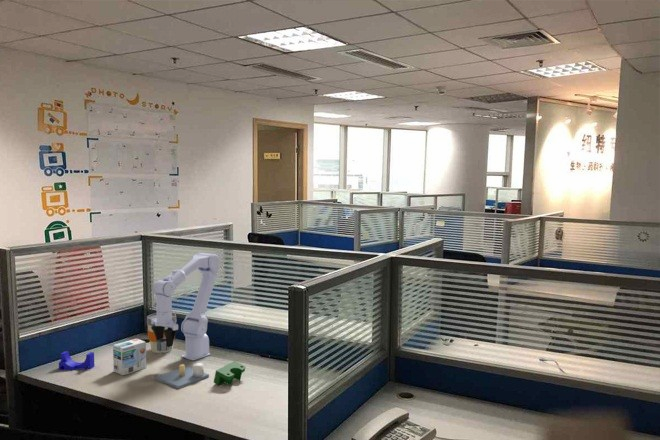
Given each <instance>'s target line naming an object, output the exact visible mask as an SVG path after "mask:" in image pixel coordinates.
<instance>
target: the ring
mask: <svg viewBox="0 0 660 440" xmlns="http://www.w3.org/2000/svg"><path fill="white" fill-rule="evenodd" d="M172 348H173V349H174V345H173V346H170V347H167V344H166V338H161V339H158V340H157V350H158V351H168V350H171V349H172ZM173 349H172V350H173ZM172 350H171V351H172Z"/></svg>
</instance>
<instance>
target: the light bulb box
mask: <svg viewBox="0 0 660 440" xmlns="http://www.w3.org/2000/svg"><path fill="white" fill-rule="evenodd" d="M112 346H113V347H112V349H113V350H112V351H113V352H112V353H113V354H112V355H113V356H112V357H113V358H112V359H113V372H115V373H116V374H118V375H120V376H124V375H128V374H131V373H134V372H137V371H141V370H145V369H147V342H146V341H145V340H141V339H140V338H139V339H138V338H134V339H130V340H127V341H123V342H119V343H116V344H113V345H112Z"/></svg>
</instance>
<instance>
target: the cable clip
mask: <svg viewBox="0 0 660 440" xmlns="http://www.w3.org/2000/svg"><path fill="white" fill-rule="evenodd" d="M94 367H95V352H94V351H90V352H88V353H87V354H86V356H85V359H84V361H83V362H78V361H76V360H74V359H73V358H72V357H71V356H70V352H69V351H67V350H66V351H65V350H64V351H63V352H61V353H60V361H59V362H58V370H61V371H75V370H92V369H93V368H94Z"/></svg>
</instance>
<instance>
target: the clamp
mask: <svg viewBox="0 0 660 440" xmlns="http://www.w3.org/2000/svg"><path fill="white" fill-rule="evenodd" d="M244 372H246V366H245V365H243V364H241V362H240V363H239V362H238V361H236V360H233V361H231V362H229V363H228V364H226V365H224V366H222V367H219V368H218V369H215V374H214V378H213V383H214V384H215V385H217V386H221V385H222V384H224V383H225V384H226V385H229V386H233V383H234V380H237V381H241V379H242V374H243V373H244Z"/></svg>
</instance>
